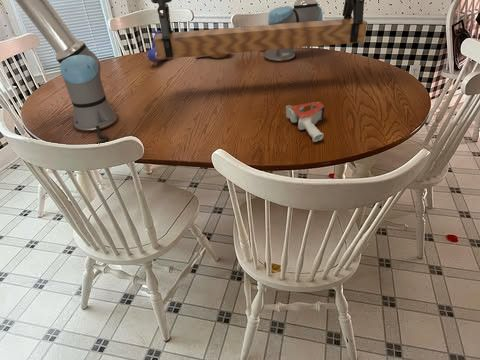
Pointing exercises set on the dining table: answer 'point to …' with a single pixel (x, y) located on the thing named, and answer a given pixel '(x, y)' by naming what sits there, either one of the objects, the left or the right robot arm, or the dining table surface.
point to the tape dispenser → (307, 118)
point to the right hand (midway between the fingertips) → (349, 38)
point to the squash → (215, 55)
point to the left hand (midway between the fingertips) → (170, 53)
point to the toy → (153, 50)
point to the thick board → (259, 38)
